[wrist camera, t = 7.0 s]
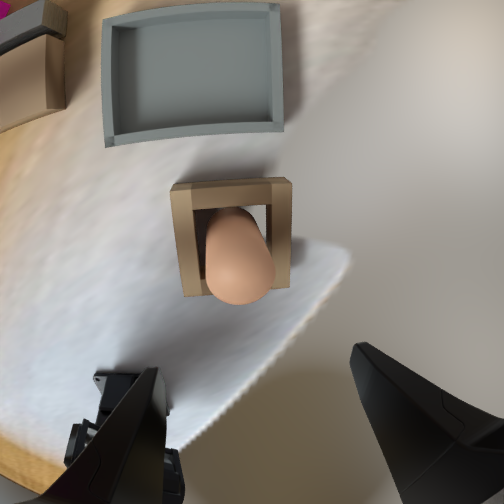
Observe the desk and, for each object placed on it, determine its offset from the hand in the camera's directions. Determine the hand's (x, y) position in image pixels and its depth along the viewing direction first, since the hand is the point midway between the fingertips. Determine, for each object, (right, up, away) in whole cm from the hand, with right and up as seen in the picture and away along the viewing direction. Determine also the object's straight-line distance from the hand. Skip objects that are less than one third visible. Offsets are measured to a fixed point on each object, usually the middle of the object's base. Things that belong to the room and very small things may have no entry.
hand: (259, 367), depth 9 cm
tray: (-4, +14, +6) cm, 16 cm away
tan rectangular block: (-16, +15, +4) cm, 22 cm away
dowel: (-2, +5, +11) cm, 12 cm away
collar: (-2, +5, +11) cm, 12 cm away
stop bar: (-16, +18, +2) cm, 24 cm away
